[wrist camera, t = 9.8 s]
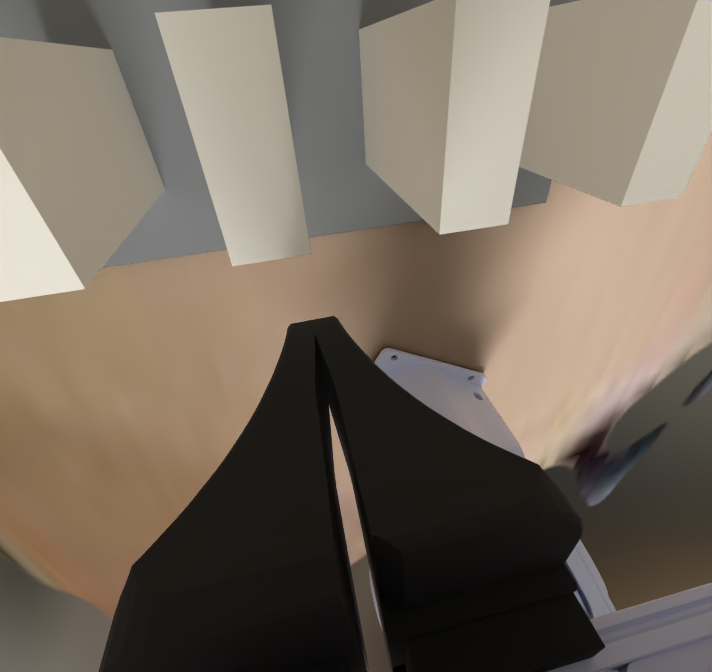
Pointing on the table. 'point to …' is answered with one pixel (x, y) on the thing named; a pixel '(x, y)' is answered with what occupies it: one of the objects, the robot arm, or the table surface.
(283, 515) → the robot arm
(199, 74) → the domino
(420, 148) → the domino
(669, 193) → the domino
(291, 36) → the domino mat
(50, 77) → the domino
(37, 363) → the table surface
